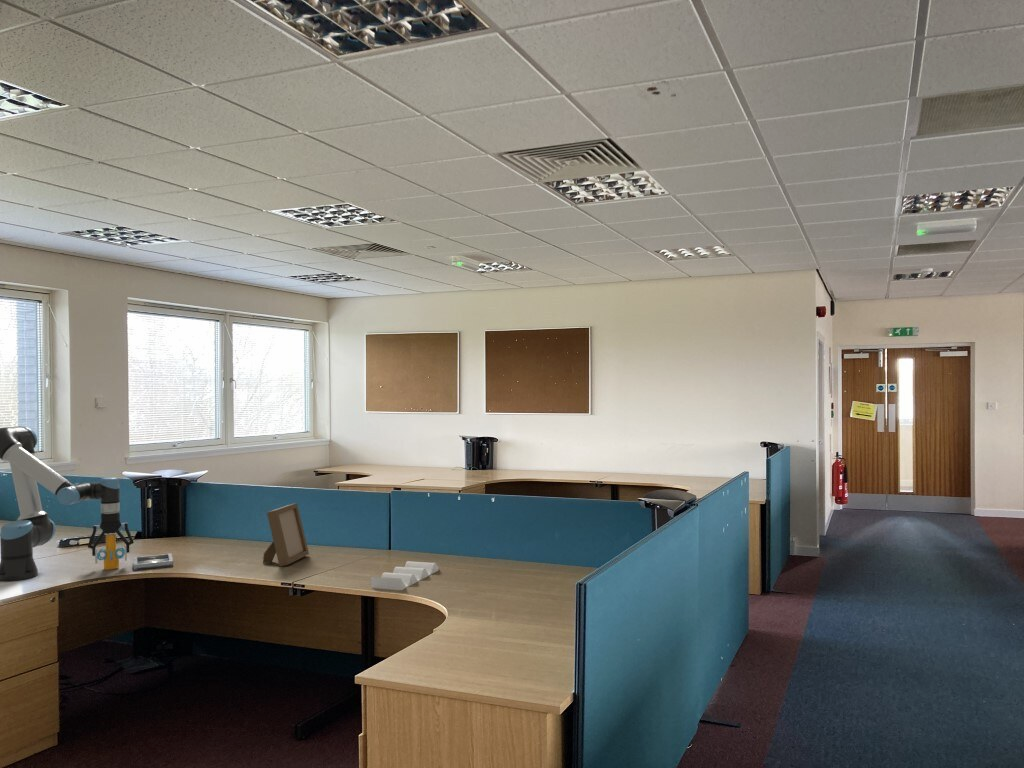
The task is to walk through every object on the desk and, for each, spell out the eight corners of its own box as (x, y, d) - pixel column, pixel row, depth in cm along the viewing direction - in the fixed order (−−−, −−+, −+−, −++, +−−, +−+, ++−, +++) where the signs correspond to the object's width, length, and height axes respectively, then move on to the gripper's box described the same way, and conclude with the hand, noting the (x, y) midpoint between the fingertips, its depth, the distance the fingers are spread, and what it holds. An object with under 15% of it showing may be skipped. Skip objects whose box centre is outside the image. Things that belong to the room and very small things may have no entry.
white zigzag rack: (439, 571, 337) (439, 559, 337) (401, 591, 304) (401, 578, 304) (412, 569, 341) (412, 557, 341) (371, 589, 308) (371, 576, 308)
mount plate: (133, 570, 345) (133, 564, 345) (133, 562, 361) (133, 557, 361) (173, 566, 352) (173, 560, 352) (171, 558, 368) (171, 553, 368)
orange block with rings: (131, 565, 355) (130, 532, 355) (117, 571, 345) (116, 537, 345) (105, 565, 356) (105, 532, 356) (91, 571, 346) (90, 537, 346)
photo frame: (309, 556, 369) (308, 503, 369) (288, 566, 347) (287, 510, 347) (279, 555, 371) (278, 502, 371) (257, 566, 350) (256, 510, 350)
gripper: (80, 515, 342) (80, 566, 342) (139, 511, 352) (140, 560, 352) (81, 513, 349) (81, 562, 349) (139, 509, 359) (140, 557, 359)
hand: (111, 561), depth 350 cm, fingers closed on orange block with rings, 11 cm apart
